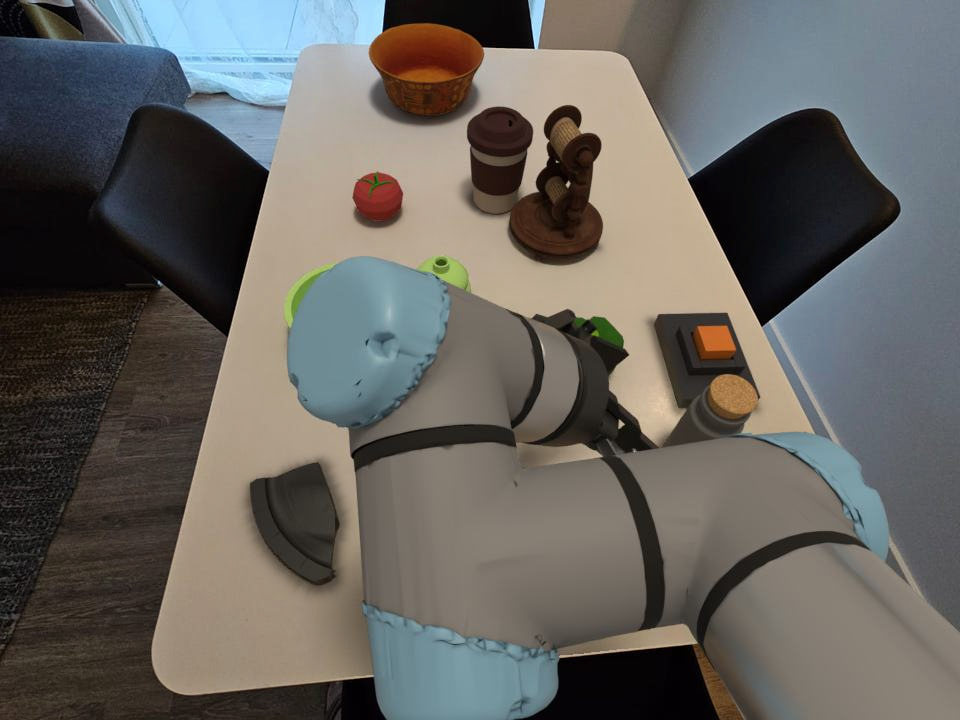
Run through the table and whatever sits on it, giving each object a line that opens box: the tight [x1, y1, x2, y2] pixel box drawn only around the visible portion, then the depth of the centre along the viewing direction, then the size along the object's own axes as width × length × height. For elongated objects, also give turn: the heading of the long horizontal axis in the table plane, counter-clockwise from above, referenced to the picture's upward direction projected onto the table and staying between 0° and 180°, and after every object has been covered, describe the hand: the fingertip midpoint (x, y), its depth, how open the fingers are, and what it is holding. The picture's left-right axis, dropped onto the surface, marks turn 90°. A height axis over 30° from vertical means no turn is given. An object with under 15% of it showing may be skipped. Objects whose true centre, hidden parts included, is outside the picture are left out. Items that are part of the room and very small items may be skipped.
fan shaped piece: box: [249, 461, 340, 585], centre depth 62 cm, size 8×14×2 cm, turn 23°
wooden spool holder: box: [508, 104, 604, 260], centre depth 83 cm, size 15×15×20 cm
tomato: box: [352, 170, 404, 222], centre depth 90 cm, size 8×8×8 cm
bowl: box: [368, 22, 485, 116], centre depth 108 cm, size 21×21×10 cm
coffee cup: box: [466, 105, 534, 215], centre depth 90 cm, size 10×10×15 cm
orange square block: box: [692, 326, 736, 360], centre depth 74 cm, size 4×4×2 cm
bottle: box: [662, 374, 759, 448], centre depth 63 cm, size 6×6×15 cm
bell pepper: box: [574, 315, 625, 377], centre depth 72 cm, size 8×8×10 cm
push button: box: [654, 312, 761, 409], centre depth 76 cm, size 14×10×4 cm
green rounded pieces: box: [283, 254, 472, 330], centre depth 74 cm, size 25×15×13 cm, turn 97°
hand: (657, 416), depth 52 cm, fingers open, 13 cm apart
